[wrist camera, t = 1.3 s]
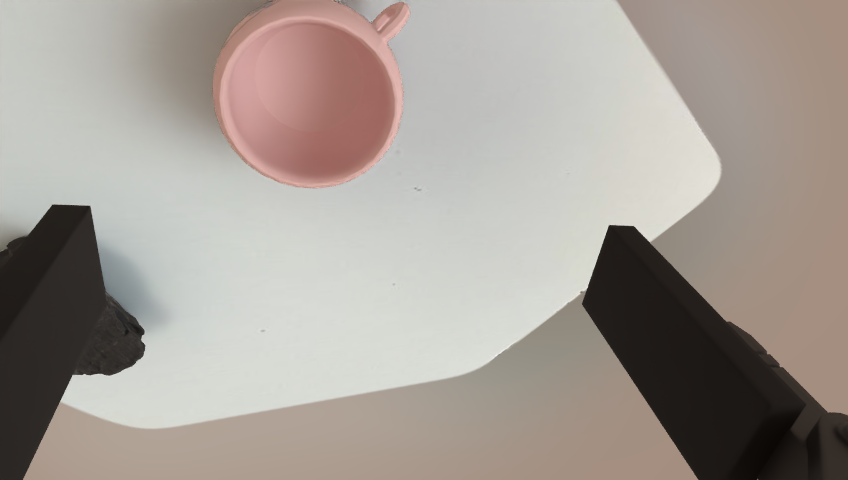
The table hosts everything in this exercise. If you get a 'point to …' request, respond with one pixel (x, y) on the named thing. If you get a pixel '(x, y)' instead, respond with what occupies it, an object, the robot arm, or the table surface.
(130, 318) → the rock
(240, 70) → the mug
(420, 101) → the table surface
